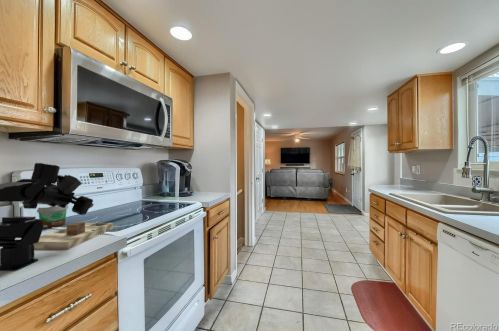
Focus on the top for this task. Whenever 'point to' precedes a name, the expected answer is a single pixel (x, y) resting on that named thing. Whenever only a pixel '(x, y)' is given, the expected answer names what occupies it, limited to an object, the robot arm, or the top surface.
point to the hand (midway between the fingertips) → (83, 201)
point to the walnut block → (76, 228)
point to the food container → (52, 216)
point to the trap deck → (71, 237)
